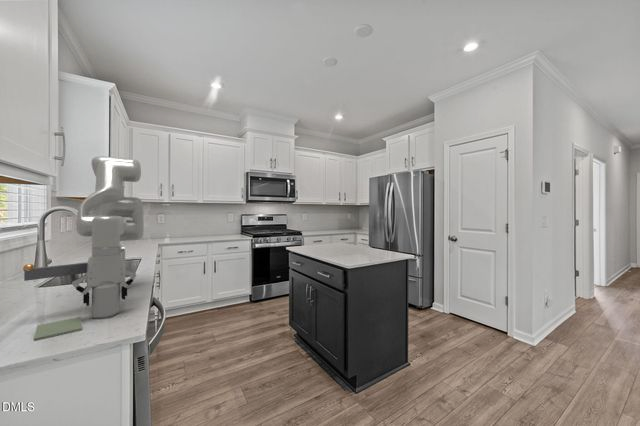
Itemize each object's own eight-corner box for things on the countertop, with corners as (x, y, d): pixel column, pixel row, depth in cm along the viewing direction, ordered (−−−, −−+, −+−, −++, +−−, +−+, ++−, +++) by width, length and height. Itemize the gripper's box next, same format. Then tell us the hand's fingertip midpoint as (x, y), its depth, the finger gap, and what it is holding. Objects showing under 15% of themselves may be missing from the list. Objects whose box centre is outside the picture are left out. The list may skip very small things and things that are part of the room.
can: (113, 309, 98) (113, 276, 98) (123, 313, 94) (123, 279, 94) (88, 316, 91) (88, 281, 91) (97, 321, 88) (97, 284, 87)
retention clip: (106, 301, 103) (106, 256, 103) (107, 302, 101) (107, 256, 101) (23, 317, 87) (22, 264, 87) (23, 319, 86) (22, 265, 85)
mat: (37, 327, 83) (37, 325, 83) (80, 318, 90) (80, 316, 90) (33, 340, 74) (33, 338, 74) (81, 330, 81) (82, 328, 81)
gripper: (134, 248, 101) (134, 294, 101) (71, 253, 89) (71, 305, 89) (138, 250, 96) (138, 298, 96) (71, 256, 84) (71, 310, 84)
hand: (106, 301), depth 92 cm, fingers open, 9 cm apart
